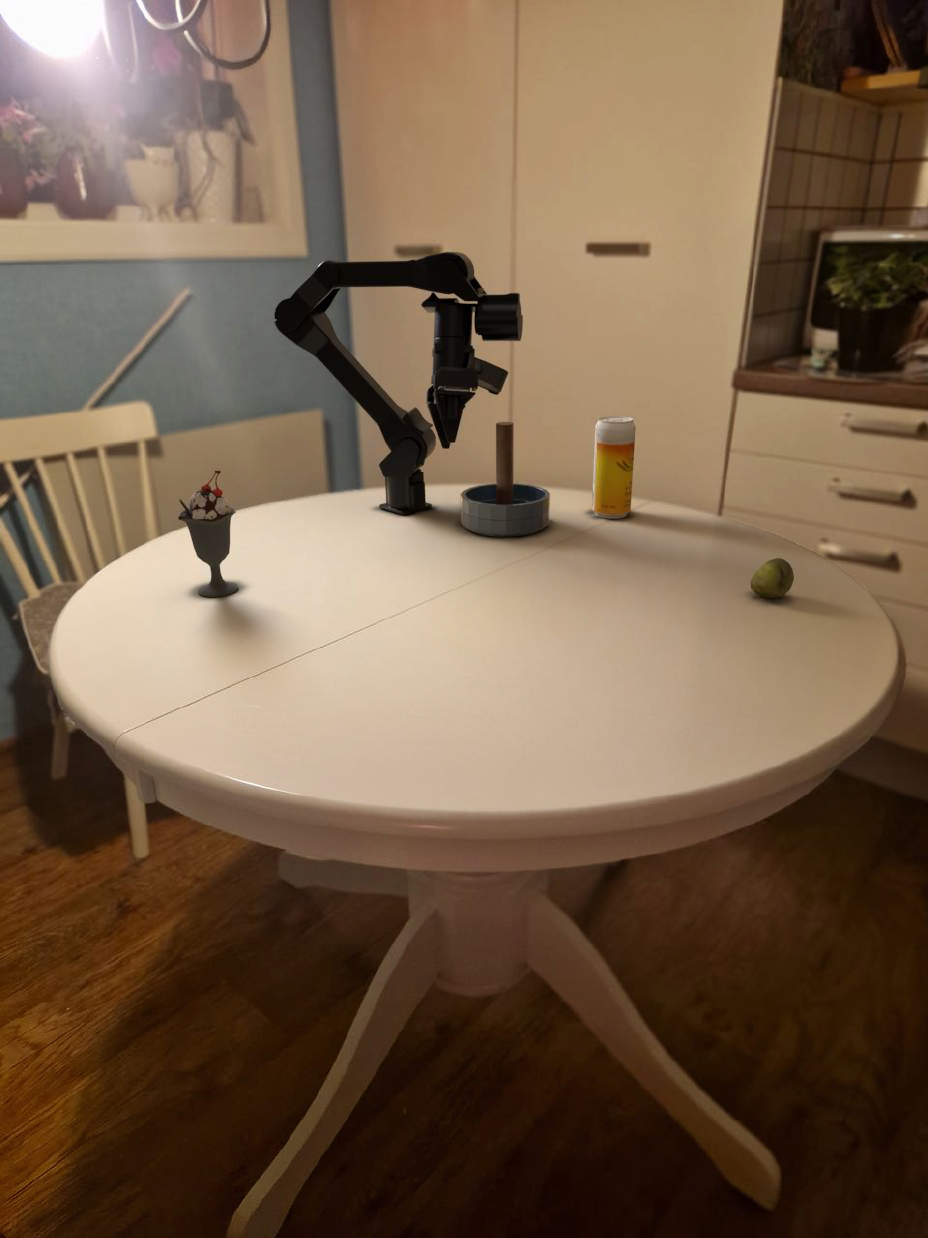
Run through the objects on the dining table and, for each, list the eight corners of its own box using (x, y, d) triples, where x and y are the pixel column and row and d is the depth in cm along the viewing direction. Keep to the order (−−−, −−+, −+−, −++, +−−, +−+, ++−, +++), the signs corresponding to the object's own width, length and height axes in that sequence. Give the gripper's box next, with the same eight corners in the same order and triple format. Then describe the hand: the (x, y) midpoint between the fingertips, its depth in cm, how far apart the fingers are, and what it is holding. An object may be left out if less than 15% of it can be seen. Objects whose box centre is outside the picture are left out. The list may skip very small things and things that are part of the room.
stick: (484, 522, 133) (483, 423, 127) (504, 516, 135) (504, 419, 130) (505, 527, 130) (505, 427, 124) (524, 521, 132) (526, 422, 127)
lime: (746, 600, 103) (750, 560, 101) (758, 588, 106) (763, 549, 104) (784, 607, 100) (790, 567, 98) (795, 594, 104) (801, 555, 102)
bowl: (443, 526, 133) (442, 494, 131) (503, 508, 142) (503, 478, 140) (506, 544, 124) (506, 510, 122) (566, 524, 133) (567, 493, 131)
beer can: (633, 519, 135) (639, 422, 129) (594, 519, 135) (598, 422, 129) (627, 508, 140) (632, 415, 134) (589, 509, 140) (593, 415, 135)
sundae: (255, 583, 111) (241, 468, 105) (225, 602, 105) (209, 480, 99) (211, 578, 113) (195, 464, 107) (180, 596, 107) (161, 477, 101)
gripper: (515, 330, 122) (510, 442, 124) (496, 356, 140) (491, 454, 142) (437, 324, 121) (433, 438, 122) (427, 352, 139) (424, 450, 141)
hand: (448, 445), depth 132 cm, fingers open, 9 cm apart
